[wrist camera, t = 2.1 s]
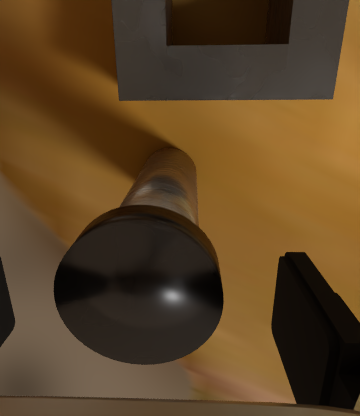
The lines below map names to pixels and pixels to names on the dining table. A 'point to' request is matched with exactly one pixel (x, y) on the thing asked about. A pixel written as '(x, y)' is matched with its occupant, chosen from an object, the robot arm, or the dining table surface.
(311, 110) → the dining table surface
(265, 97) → the chuck block
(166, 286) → the steel peg
